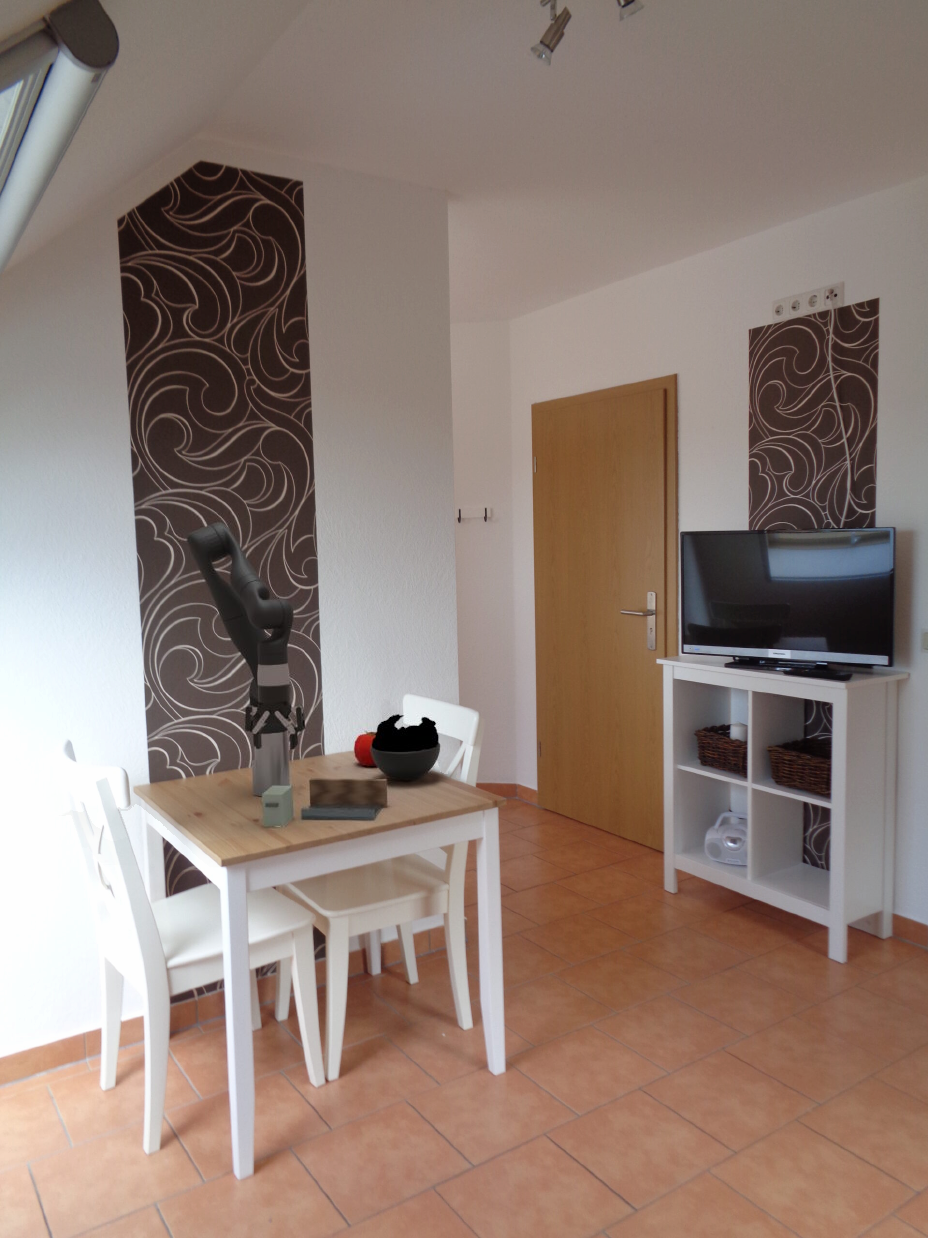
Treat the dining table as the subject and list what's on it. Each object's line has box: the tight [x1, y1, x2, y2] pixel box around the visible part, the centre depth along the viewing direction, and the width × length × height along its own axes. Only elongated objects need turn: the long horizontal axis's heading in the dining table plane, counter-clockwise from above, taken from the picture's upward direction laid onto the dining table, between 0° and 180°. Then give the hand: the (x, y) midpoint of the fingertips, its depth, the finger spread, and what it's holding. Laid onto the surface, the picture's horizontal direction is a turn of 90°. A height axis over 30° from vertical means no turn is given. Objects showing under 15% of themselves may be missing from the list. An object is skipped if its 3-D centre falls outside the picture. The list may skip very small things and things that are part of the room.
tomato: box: [353, 730, 377, 767], centre depth 279 cm, size 12×12×10 cm
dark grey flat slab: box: [300, 804, 383, 821], centre depth 227 cm, size 18×11×2 cm, turn 83°
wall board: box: [308, 777, 388, 809], centre depth 233 cm, size 20×2×7 cm, turn 83°
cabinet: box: [261, 785, 294, 828], centre depth 220 cm, size 5×9×8 cm, turn 173°
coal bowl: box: [370, 713, 441, 782], centre depth 259 cm, size 20×20×19 cm
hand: (275, 748), depth 219 cm, fingers open, 8 cm apart
